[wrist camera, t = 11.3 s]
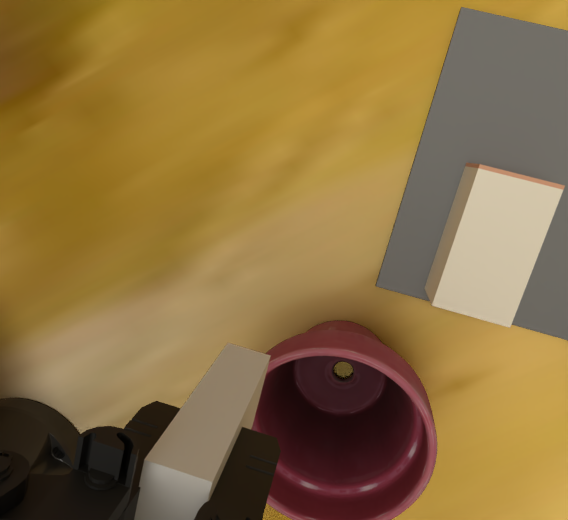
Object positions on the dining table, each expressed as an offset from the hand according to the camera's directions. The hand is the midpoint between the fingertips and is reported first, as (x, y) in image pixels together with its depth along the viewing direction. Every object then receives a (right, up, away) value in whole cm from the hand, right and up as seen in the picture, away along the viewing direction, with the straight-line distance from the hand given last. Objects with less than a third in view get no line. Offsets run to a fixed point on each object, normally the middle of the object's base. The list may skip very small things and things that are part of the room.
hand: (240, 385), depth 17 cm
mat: (+21, +10, +24) cm, 33 cm away
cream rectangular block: (+19, +11, +21) cm, 30 cm away
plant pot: (+7, -6, +30) cm, 31 cm away
